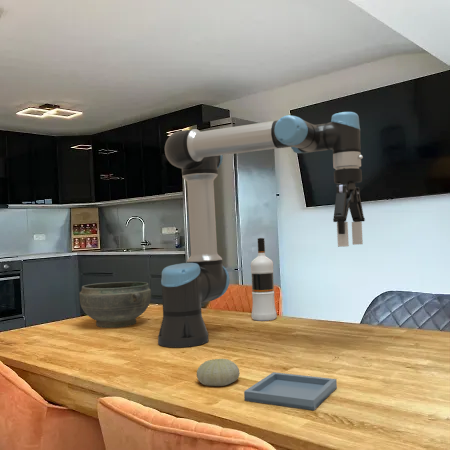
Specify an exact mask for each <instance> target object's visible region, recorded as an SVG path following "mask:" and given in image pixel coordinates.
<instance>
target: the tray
mask: <svg viewBox="0 0 450 450" xmlns="http://www.w3.org/2000/svg"><path fill="white" fill-rule="evenodd" d="M337 383H338V382H337V378H331V377H321V376H312V375H301V374H294V373H293V374H292V373H283V372H272V373H270V374H268V375H267V376H265V377H264V378H262V379H261V380H259V381H258V382H256V383H255V384H253V385H252V386H250V387H248V388H247V389H245V390H244V391H243V395H244V398H243V399H244V401H246V402H251V403H259V404H267V405H272V406H278V407H279V406H280V407H287V408H293V409H295V408H296V409H299V410H301V409H302V410H308V411H315V410H316V409H317V408H318V407H319V406H320V405H321V404H322V403H323V402H324V401H326V400H327V398H328V397H330V396H331V394H332V393H333V392H334V391H336V390H337V388H338V385H337Z"/></svg>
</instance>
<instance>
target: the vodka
mask: <svg viewBox="0 0 450 450" xmlns="http://www.w3.org/2000/svg"><path fill="white" fill-rule="evenodd" d="M265 244H266V243H265V238H264V237H259V238H257V256H256V257H255V258H254V259H253V260H251V262H250V273H251V295H252V297H251V298H252V310H251V318H252V319H253V321H257V322H268V321H269V320H270V321H274V320H275V319H277V317H278V316H277V313H278V312H277V309H276V304H275V290H274V289H275V288H274V285H275V284H274V262H273V260H272V259H271V258H269V257H267V256H266V246H265Z"/></svg>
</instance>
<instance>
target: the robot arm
mask: <svg viewBox="0 0 450 450" xmlns="http://www.w3.org/2000/svg"><path fill="white" fill-rule="evenodd" d="M164 144H165V145H164V154H165V157H166V159H167V161H168V162H169V164H171V165H172V166H174V167H176V168H178V169H181V176H182V178H183V179H184V180H185V182H186V183H187V186H186V187H187V202H188V203H187V204H188V219H189V220H188V221H189V222H188V223H189V240H190V256H189V257H188V259H187V260H186V262H182V263H176V264H171V265H167V266H166V267H164V268H163V269H162V271H161V280H160V282H161V283H160V284H161V297H162V298H161V299H162V300H161V301H162V322H161V325H160V328H159V333H158V335H157V343H158V345H159V346H161V347H167V348H187V347H188V348H189V347H190V348H191V347H196V346H200V345H203V344H206V343H208V342H209V331H208V330H207V326H206V324H205V321H204V319H203V315H202V303H205V302H209V301H210V302H211V301H215V300H216V299H217V300H218V298H220V297H222V296H223V295H225V294H226V292H227V290H228V289H229V287H230V286H229V285H230V281H231V280H230V275H229V271H228V270H227V269H226V267H225V266H224V265H223V258H222V256H220V254H218V245H217V244H218V243H217V223H216V204H215V186H214V185H215V184H214V181H215V179H216V178H217V177H218V176H219V173H218V169H219V168H220V166H221V165H222V164H223V159H224V158H223V157H224V156H226V155H234V154H243V153H250V152H257V151H265V150H266V151H267V150H274V149H286V148H291V150H292V151H293V153H295V154H308V153H313V152H314V153H315V152H323V151H331V150H332V164H333V169H335V170H334V171H333V182H334V184H336V189H335V190H336V194H335V200H334V201H335V202H334V212H333V218H332V221H333V223H336V232H337V233H336V234H337V236H336V237H337V248H338V247H346V248H347V247H349V246H350V244H349V223H348V221H347V218H348V213H349V212H350V216H351V218H352V221H351V235H352V236H351V238H352V240H351V241H352V245H354V246H355V245H363V243H364V242H363V223H362V222H365V221H366V219H365V216H364V211H363V205H362V200H361V192H360V189H361V188H360V187H359V186H358V187H356V184H360V183H362V182H363V175H362V174H363V173H362V171H363V170H362V169H361V167H362V159H363V158H364V157H363V155H362V154H361V128H360V118H359V115H358V113H356V112H354V111H342V112H338V113H334V114H332V115H331V120H330V122H327V123H321V124H320V123H319V124H313V123H310V122H308V121H306V120H304V119H303V118H301V117H299V116H296V115H288V114H287V115H283V116H282V117H280V118H279V119H278V120H271V121H270V120H269V121H264V122H258V123H250V124H244V125H237V126H230V127H224V128H217V129H210V130H203V131H200V130H199V129H197V128H192V129H184V130H177V131H175V132H174V133H173V132H172V134H170V135H169V136H168V138H167V139H166V141H165V143H164Z"/></svg>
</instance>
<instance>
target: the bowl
mask: <svg viewBox="0 0 450 450" xmlns="http://www.w3.org/2000/svg"><path fill="white" fill-rule="evenodd" d="M151 299H152V289H151V288H150V287H149V283H148V282H145V281H144V282H143V281H118V282H116V281H114V282H99V283H91V284H90V283H89V284H85V285H82V286H81V291H79V305H80V308H81V309H82V310H83V311H82V312H84V313H85V315H87V316H88V317H89V318H91V319H93V320H95V321H96V322H95V324H96V327H98V328H105V329H107V328H108V329H111V328H124V327H129V326H133V325H136V323H137V318H138V317H140V316H141V315H143V313H145V312H146V310H147V308H148V307H149V306H150V303H151Z"/></svg>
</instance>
